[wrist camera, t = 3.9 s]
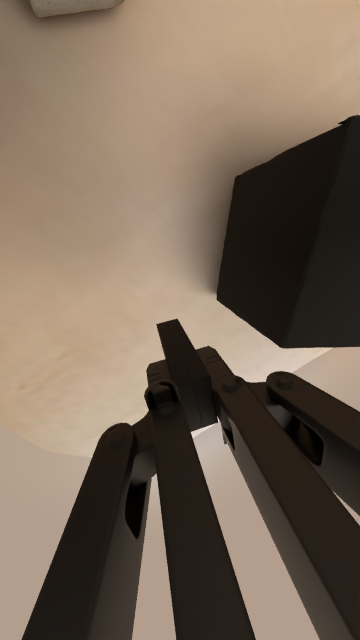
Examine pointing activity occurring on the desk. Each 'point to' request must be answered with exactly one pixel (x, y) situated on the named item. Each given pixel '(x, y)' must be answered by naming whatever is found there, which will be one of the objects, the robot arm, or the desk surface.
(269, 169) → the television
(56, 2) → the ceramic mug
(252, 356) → the desk surface
